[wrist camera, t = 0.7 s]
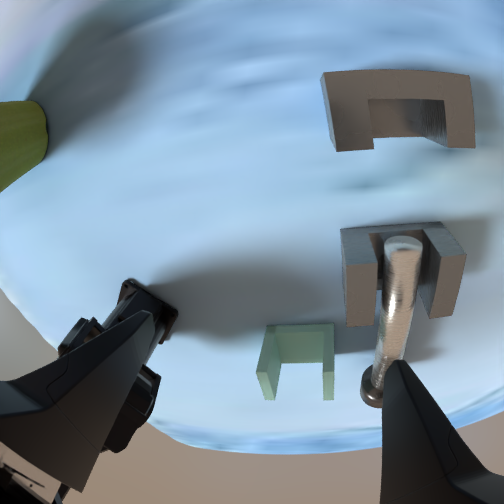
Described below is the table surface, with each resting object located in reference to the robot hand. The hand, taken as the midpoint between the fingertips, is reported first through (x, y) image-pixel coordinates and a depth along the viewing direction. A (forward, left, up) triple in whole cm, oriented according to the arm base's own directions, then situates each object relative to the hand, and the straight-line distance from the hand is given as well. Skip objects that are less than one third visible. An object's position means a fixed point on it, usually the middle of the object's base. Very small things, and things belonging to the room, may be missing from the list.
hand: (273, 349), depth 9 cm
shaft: (-3, -12, -12) cm, 17 cm away
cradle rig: (+5, -5, -12) cm, 14 cm away
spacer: (-11, -8, -13) cm, 18 cm away
